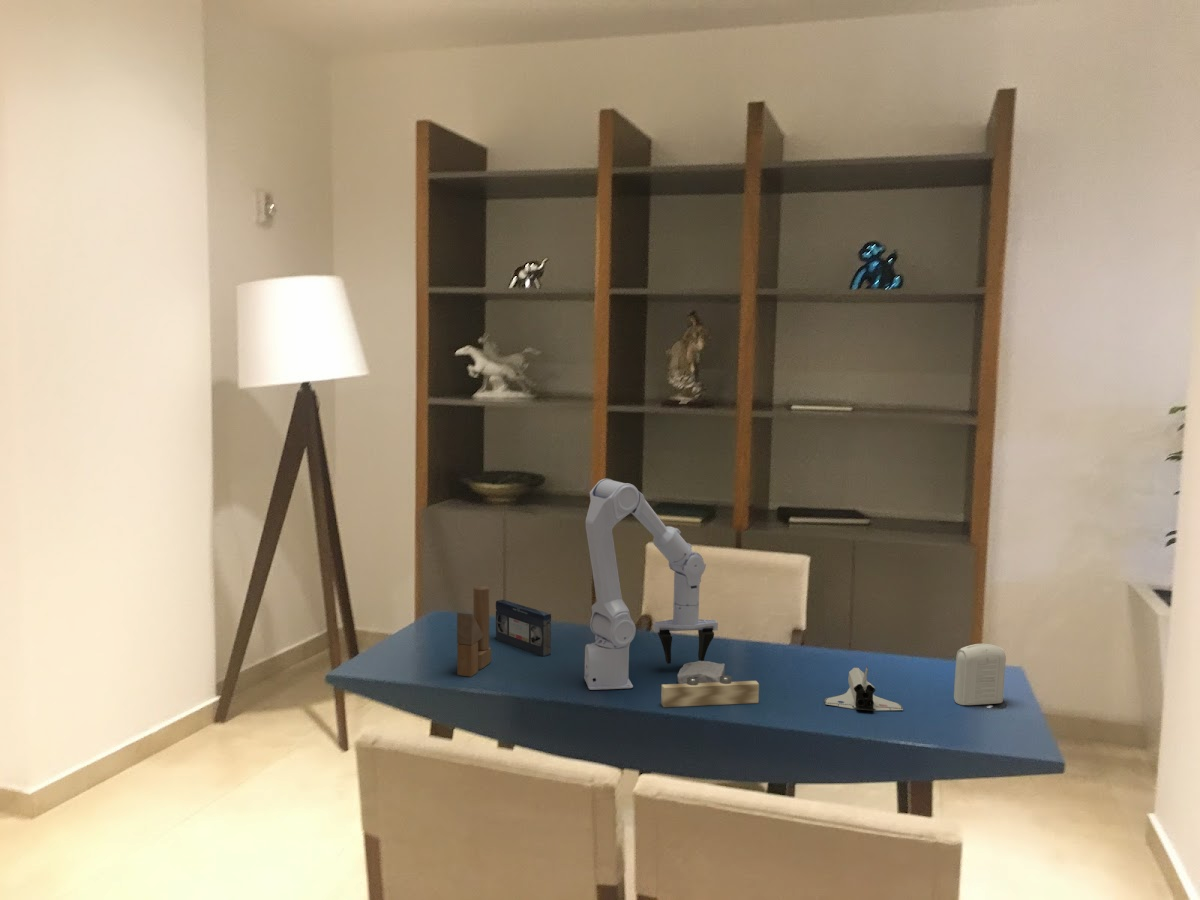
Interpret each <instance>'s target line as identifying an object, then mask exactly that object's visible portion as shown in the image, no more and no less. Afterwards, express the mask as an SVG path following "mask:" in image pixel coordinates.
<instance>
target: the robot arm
mask: <svg viewBox="0 0 1200 900" xmlns="http://www.w3.org/2000/svg"><path fill="white" fill-rule="evenodd" d="M589 499H590V502H589V506H588V510H587V513H586V518H585V532H586V538H587V545H588V550H589V551H588V552H589V553H588V554H589V557H590V565H591V572H592V578H593V585H594V591H595V592H594V593H595V597H596V598H595V599H596V601H595V602H594V603H593V604H592V605H591V617H590V620H589V626H590V627H589V628H590V630H591V633H593V634H594V635H595V636H594V640H595V642H592V643H587V644H585V648H584V677H583V678H584V679H583V680H584V681H585V682H586V685H587V686H586V687H587V688H588V690H591V691H594V690H596V691H597V690H618V689H619V690H623V689H632V688H633V687H634V685H633V684H632V682H631V680H630V678H629V671H630V670H629V667H630V666H629V665H630V664H629V661H630V646H631V643H632V641H634V639H635V636H636V631H637V628H636V624H635V622H634V621H633V619H632V617H631V614H630V610H629V608H628V606H627V605H626V603H625V601H624V600H623V596H622V591H621V584H620V576H619V570H618V569H619V568H618V562H617V555H616V554H617V553H616V549H615V541H614V534H613V529H614V527H615V526H616V525H617V524H618V523H620V522H621V521H622V520H623V519H624V518H626V516H628V515H630V514H632V516H633V517H634V518H635V519H637V520H638V522H640V523H641V525H642V526H643V527H644V528H645V529H646V530H647V531H648V532H649V533H650V534H651V535H652V536H653V540H652V541H653V542H652V543H653V546H654V547H656V549H657V550H658V552H660V553H661V554H662V555H663V557H664V558H665V559H666V560H667V561H668V567H669V569H670V570H671V571H673V572H674V573H673V610H672V611H673V613H672V619H667V620H661V621H653V622H652V623H653V625H652V629H653V631H654V633H657V635H658V636H659V639H660V643H661V645H662V648H663V652H664V656H665V658H664V659H665V662H666V663H667V664H670V665H671V664H672V643H673V636H672V635H671V632H672V631H673V632H680V631H682V632H683V631H698V632H697V633H698V651H697V652H698V654H697V656H698V661H705V657H706V654H707V651H708V649H709V646H710V644H711V642H712V640H713V639H714V637H715V631H719V630H718V627H719V622H718V621H717V620H716V619H699V618H700V617H699V614H700V613H699V611H700V610H699V609H700V584H701V582H702V575H703V574H704V572H705V571H706V566H707V564H706V563H705V561H704V558H703V556H702V555H701V554H700V552H696V551H693V549H692V548H693V546H692V544H691V543H689V542H687V541H686V540H685V539H684V537H682V535H681V533H682V531H680V529H679V528H677V527H674V526H666V525H665V523H664V522H663V521H662V520H661V519H660V517H659V516H658V514H657V513H656V511H654V509H653V508H652V506H650V504H649V502H648V501H647V500H646V498H645V495H644V494H643V493H642V492H641V491H639V490H638V488H637V487H636V486H635V485H634V484H631V483H628V482H626V483H625V482H621V481H617V480H613V479H611V478H603V479H600V480H599V481H597V483H596V484H595V485H594V486H593V487H592V489H591V490H590V491H589Z"/></svg>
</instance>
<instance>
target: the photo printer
mask: <svg viewBox="0 0 1200 900" xmlns="http://www.w3.org/2000/svg"><path fill="white" fill-rule="evenodd" d="M1006 656H1007V655H1006V652H1005V650H1004V649H1003V648H1002V647H1000V646H998V645H995V644H990V643H975V644H970V645H967V646H963V647H961V648H958V650H957V653H956V658H955V670H954V673H955V674H954V685H953V686H954V687H953V699H954V702H955V703H956V704H958V705H959V706H977V705H979V706H980V705H993V704H994V705H995V704H1002V703H1003V700H1004V690H1005V678H1006V677H1005V676H1006V663H1007V662H1006V661H1007V659H1006Z"/></svg>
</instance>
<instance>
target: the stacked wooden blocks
mask: <svg viewBox="0 0 1200 900" xmlns="http://www.w3.org/2000/svg"><path fill="white" fill-rule="evenodd" d="M472 596H473V602H472V603H473V606H472V607H473V608H472V609H473V611H472V613H473V614H472V613H465V612H457V613H456V615H457V616H456V644H457V654H456V655H457V656H456V657H457V659H456V660H457V662H456V663H457V665H456V667H457V672H456V673H457V676H460V677H462V676H463V677H474V676H475V674H478V672H479V670H482V669H484V668H485V667H486V666H488V665H489V664H490V663H491V662H492V648H491V646H490V587H489V586H488V585H475V586H474V587H473V595H472Z"/></svg>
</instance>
